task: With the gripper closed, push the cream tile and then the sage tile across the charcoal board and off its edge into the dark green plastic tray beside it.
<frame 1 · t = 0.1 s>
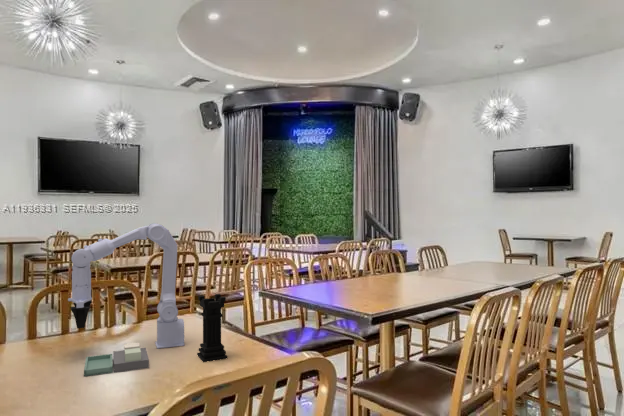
hand: (81, 325, 154), 10 cm above the table, tool pointing down, fingers open, 7 cm apart
charcoal board: (130, 363, 145), on the table
cream tile: (131, 352, 148), point 2 cm above the table, touching charcoal board
chess piece: (212, 357, 152), on the table
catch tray: (98, 367, 142), on the table
sage tile: (132, 358, 142), point 2 cm above the table, touching charcoal board
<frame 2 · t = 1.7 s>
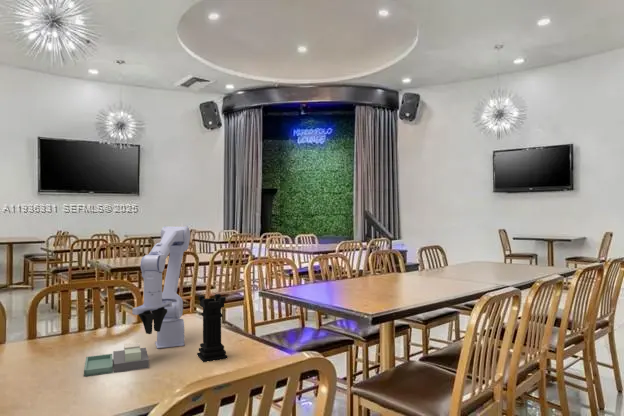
hand: (153, 332, 151), 8 cm above the table, tool pointing down, fingers open, 3 cm apart
nothing on the table moved.
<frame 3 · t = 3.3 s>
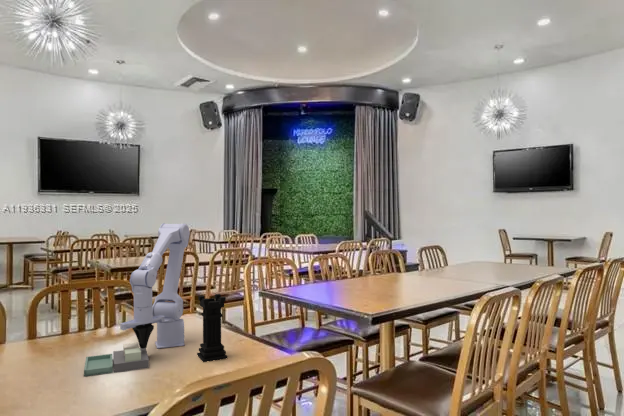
hand: (143, 347, 149), 4 cm above the table, tool pointing down, fingers closed
cream tile: (131, 352, 148), point 3 cm above the table, touching gripper
everything else where it was.
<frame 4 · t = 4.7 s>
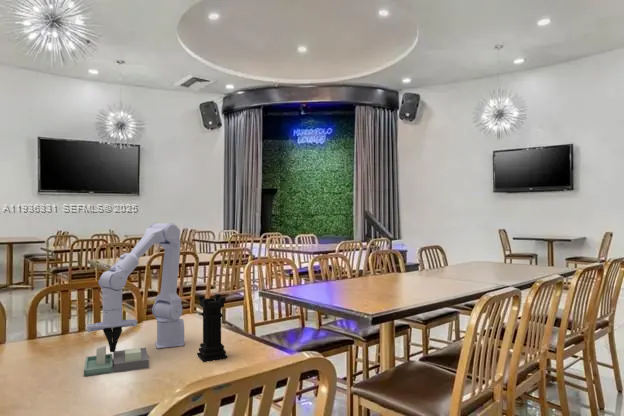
hand: (112, 351, 146), 4 cm above the table, tool pointing down, fingers closed
cream tile: (105, 354, 145), point 3 cm above the table, tilted 90°, touching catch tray
everything else where it was.
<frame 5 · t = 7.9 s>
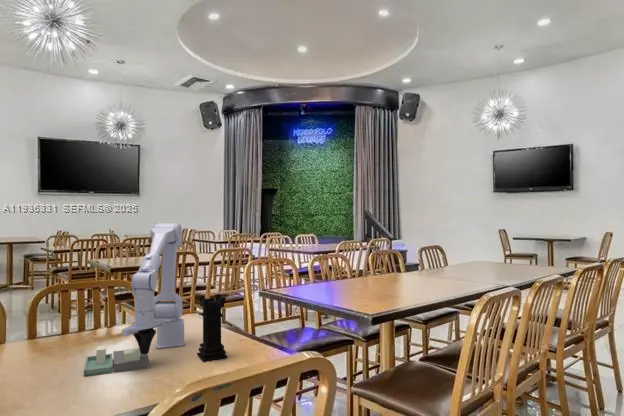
hand: (144, 353, 143), 4 cm above the table, tool pointing down, fingers closed
sage tile: (131, 358, 142), point 3 cm above the table, touching charcoal board, gripper
everything else where it was.
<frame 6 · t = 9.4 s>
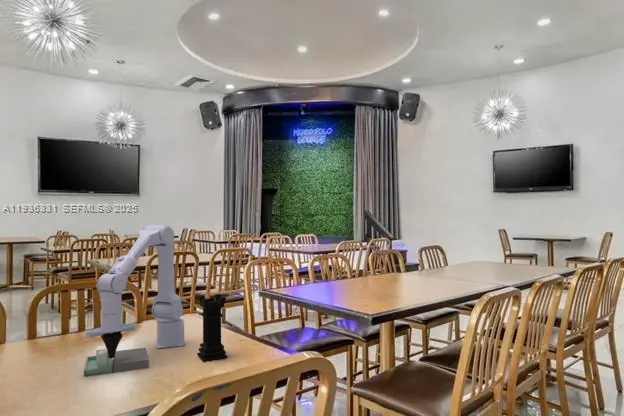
hand: (111, 357, 140), 4 cm above the table, tool pointing down, fingers closed
sage tile: (107, 359, 141), point 3 cm above the table, tilted 91°, touching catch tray, gripper
everything else where it was.
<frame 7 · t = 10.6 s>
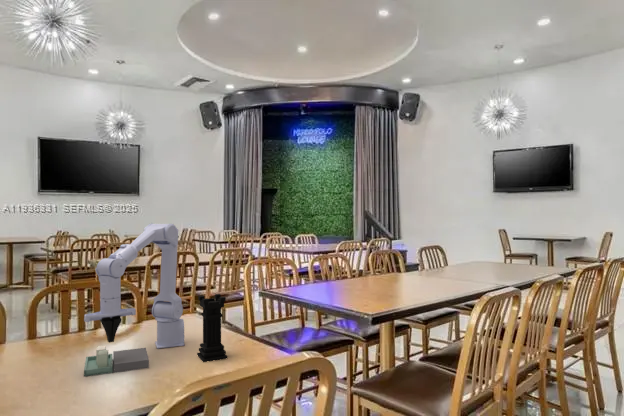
hand: (110, 341, 140), 8 cm above the table, tool pointing down, fingers closed
sage tile: (107, 359, 141), point 3 cm above the table, tilted 90°, touching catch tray
everything else where it was.
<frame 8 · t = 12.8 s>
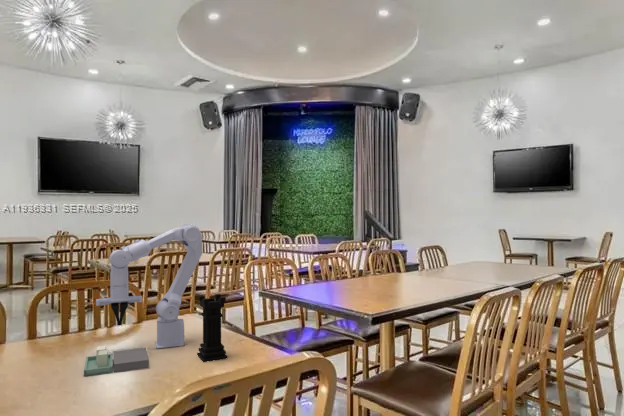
hand: (119, 324, 157), 9 cm above the table, tool pointing down, fingers closed
nothing on the table moved.
at the end: cream tile inside the target area (4.1 cm from its centre), point 2.8 cm above the table; sage tile inside the target area (3.9 cm from its centre), point 2.8 cm above the table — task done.
